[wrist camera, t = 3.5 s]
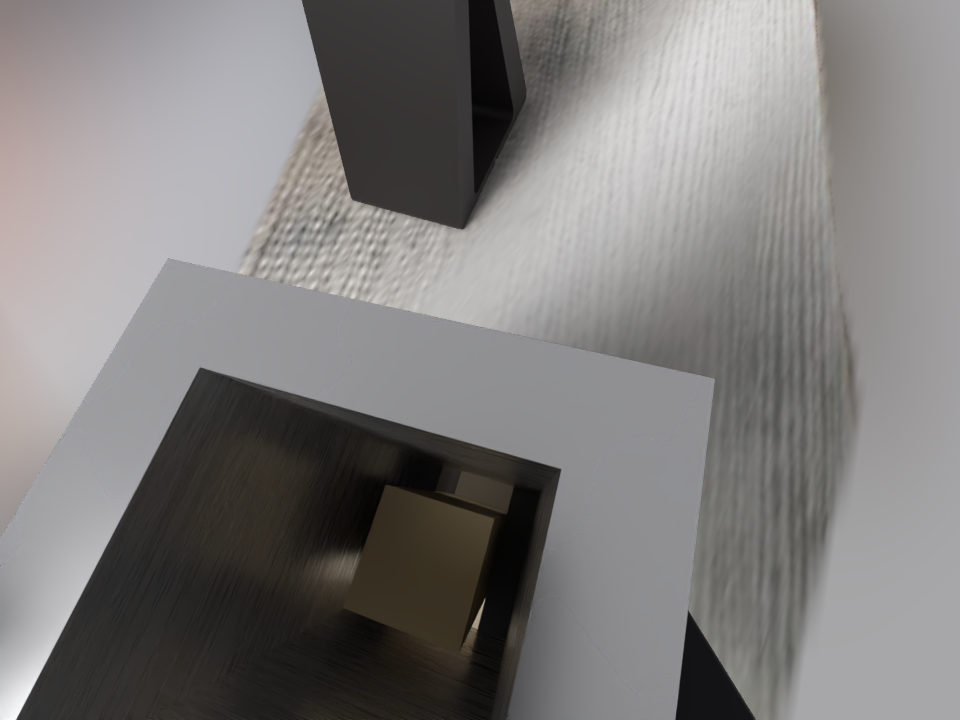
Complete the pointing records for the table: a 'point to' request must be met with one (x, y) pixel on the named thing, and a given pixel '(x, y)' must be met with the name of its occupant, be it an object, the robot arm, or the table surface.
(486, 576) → the board
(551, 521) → the steel sleeve
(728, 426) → the table surface
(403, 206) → the phone stand
